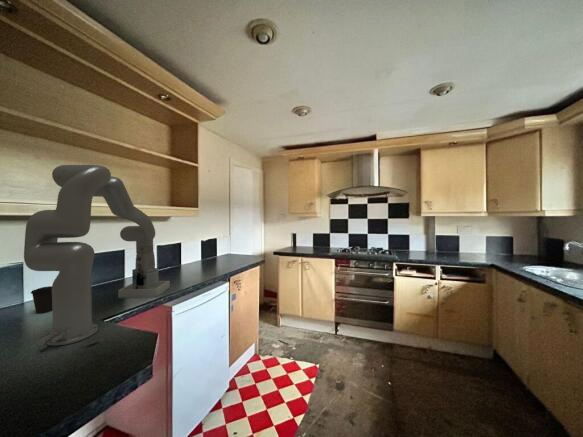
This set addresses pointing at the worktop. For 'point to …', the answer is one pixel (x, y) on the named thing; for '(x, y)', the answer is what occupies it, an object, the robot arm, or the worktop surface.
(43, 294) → the coffee cup
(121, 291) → the grey tray
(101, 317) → the worktop surface
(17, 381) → the worktop surface
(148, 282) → the light bulb box
